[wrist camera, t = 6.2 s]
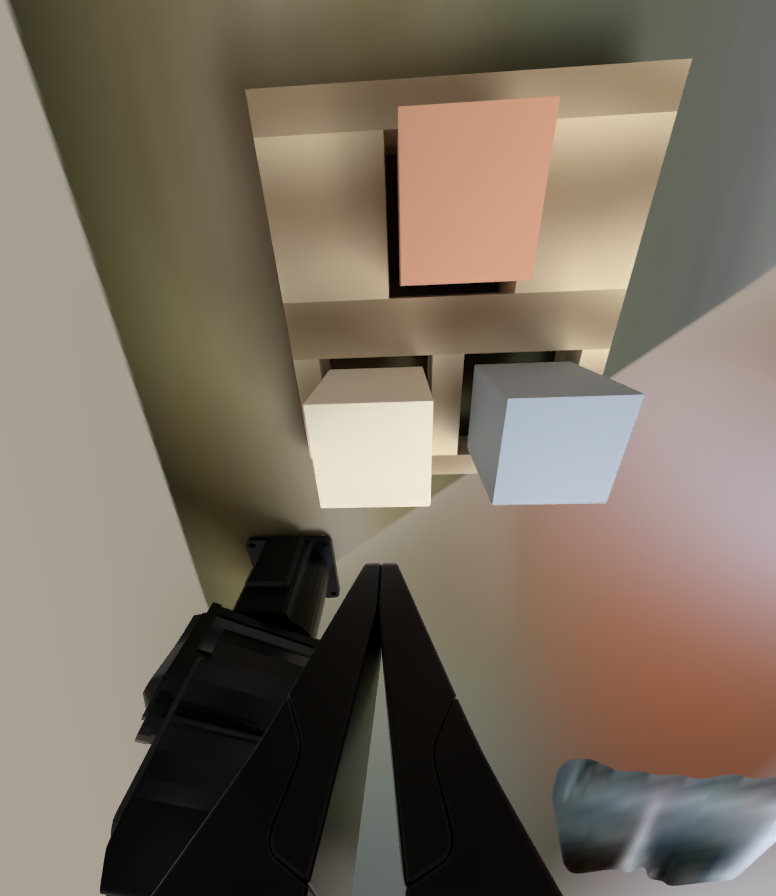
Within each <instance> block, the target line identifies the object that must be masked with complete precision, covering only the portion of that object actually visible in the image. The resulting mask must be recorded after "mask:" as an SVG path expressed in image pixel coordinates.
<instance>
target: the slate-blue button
mask: <svg viewBox="0 0 776 896" xmlns="http://www.w3.org/2000/svg"><path fill="white" fill-rule="evenodd" d="M644 396H645V394H643V393H641V392H638V391H636V390H634V389H632V388H629V387H627V386H625V385H623V384H620V383H618V382H616V381H614V380H611V379H609V378H607V377H605V376H602V375H600V374H598V373H596V372H593V371H591V370H589V369H586V368H584V367H582V366H580V365H577V364H575V363H573V362H571V361H566V362H537V363H508V364H479V365H475V366H474V377H473V388H472V399H471V410H470V421H469V433H468V444H467V448H468V451H469V453H470V455H471V458H472V460H473V462H474V464H475V467H476V469H477V471H478V474H479V476H480V478H481V480H482V482H483V485H484V487H485V490H486V492H487V494H488V496H489V499H490V501H491V503H492V505H527V504H528V505H529V504H581V503H582V504H583V503H606V502H607V500H608V497H609V494H610V491H611V488H612V486H613V483H614V480H615V477H616V474H617V472H618V469H619V466H620V463H621V461H622V458H623V455H624V452H625V449H626V447H627V444H628V441H629V438H630V435H631V433H632V430H633V427H634V424H635V421H636V419H637V416H638V413H639V410H640V408H641V405H642V402H643V399H644Z"/></svg>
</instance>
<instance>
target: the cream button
mask: <svg viewBox="0 0 776 896" xmlns="http://www.w3.org/2000/svg"><path fill="white" fill-rule="evenodd" d="M433 402H434V401H433V398H432V395H431V392H430V389H429V385H428V382H427V379H426V376H425V373H424V370H423V367H422V366H421V367H392V368H363V369H334V370H329V371H328V373H327V374H326V375H325V377H324V378H323V379H322V380H321V382H320V383H319V384H318V386H317V387H316V388H315V390H314V391H313V392H312V394H311V395H310V396H309V397H308V399H307V400H306V401H305V403H304V404H303V409H304V414H305V420H306V426H307V431H308V437H309V443H310V449H311V454H312V460H313V466H314V471H315V477H316V483H317V488H318V494H319V500H320V506H321V508H361V507H417V506H430V501H431V468H432V435H433Z"/></svg>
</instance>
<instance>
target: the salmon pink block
mask: <svg viewBox="0 0 776 896" xmlns="http://www.w3.org/2000/svg"><path fill="white" fill-rule="evenodd" d="M559 102H560V96H552V97H536V98H521V99H506V100H490V101H475V102H460V103H445V104H429V105H414V106H399V107H398V141H397V185H398V236H399V285H400V286H413V285H435V284H458V283H481V282H504V281H526V280H532V276H533V270H534V263H535V257H536V250H537V244H538V237H539V231H540V224H541V218H542V211H543V205H544V199H545V192H546V186H547V179H548V173H549V166H550V160H551V153H552V147H553V140H554V134H555V128H556V121H557V115H558V108H559Z"/></svg>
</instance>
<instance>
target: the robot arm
mask: <svg viewBox="0 0 776 896" xmlns="http://www.w3.org/2000/svg"><path fill="white" fill-rule="evenodd" d="M323 542H326V543H323ZM253 543H254V544H253ZM246 548H247V551H248V554H249V556H250V559H251V562H252V565H253V568H252V570H251V572H250V574H249V576H248V578H247V580H246V582H245V586H244V588H243V590H242V592H241V594H240V596H239V598H238V600H237V602H236V604H235V606H234V608H233V610H230V609H227V608H224V607H221V606H222V605H221V604H218V603H215V602H213V603H212V605H211V607H210V608H209V610H208V612H207V613H203V614H200V615H194V616H193V618H192V620H191V621H190V623H189V624H188V626H187V628H186V629H185V631H184V633H183V634H182V636H181V637H180V639H179V641H178V642H177V644H176V645H175V647H174V648H173V650H172V651H171V652H170V654H169V655H168V656H167V658H166V659H165V660H164V662H163V663H162V665H161V666H160V667H159V669H158V670H157V671H156V673H155V674H154V676H153V677H152V679H151V680H150V681H149V683H148V685H147V686H146V688H145V690H144V692H143V696H144V701H145V706H146V710H145V712H144V714H143V716H142V720H144V722H143V724H142V727H141V728H140V730H139V732H138V734H137V737H136V739H135V742H139V743H143V744H152V745H151V747H150V748H149V750H148V752H147V754H146V756H145V758H144V760H143V762H142V764H141V766H140V768H139V770H138V772H137V774H136V776H135V777H134V780H133V781H132V783H131V785H130V787H129V789H128V791H127V793H126V795H125V797H124V799H123V800H122V802H121V805H120V806H119V808H118V810H117V812H116V814H115V817H114V819H113V824H112V828H111V838H110V840H109V842H108V845H107V848H106V852H105V858H104V865H103V872H102V879H101V885H100V893H101V894H106V896H351V894H352V886H353V878H354V870H355V861H356V854H357V845H358V838H359V830H360V822H361V814H362V806H363V799H364V791H365V782H366V775H367V767H368V758H369V750H370V743H371V735H372V727H373V719H374V711H375V703H376V695H377V687H378V679H379V671H380V662H381V651H382V661H383V673H384V683H385V694H386V705H387V716H388V727H389V738H390V749H391V760H392V771H393V782H394V793H395V804H396V815H397V826H398V837H399V848H400V859H401V870H402V881H403V892H404V896H563V895H562V893H561V891H560V890H559V888H558V886H557V884H556V883H555V881H554V879H553V877H552V875H551V874H550V872H549V870H548V868H547V867H546V865H545V863H544V862H543V860H542V858H541V856H540V855H539V853H538V851H537V849H536V847H535V846H534V844H533V842H532V840H531V838H530V837H529V835H528V833H527V831H526V830H525V828H524V826H523V824H522V823H521V821H520V819H519V818H518V816H517V814H516V812H515V810H514V808H513V807H512V805H511V803H510V801H509V800H508V798H507V796H506V795H505V793H504V791H503V789H502V787H501V786H500V784H499V782H498V780H497V778H496V776H495V774H494V772H493V771H492V769H491V767H490V765H489V763H488V761H487V759H486V757H485V756H484V754H483V752H482V750H481V748H480V745H479V743H478V741H477V739H476V737H475V735H474V733H473V731H472V729H471V727H470V725H469V723H468V720H467V718H466V716H465V714H464V712H463V709H462V707H461V705H460V703H459V700H458V699H456V694H455V692H454V690H453V687H452V685H451V683H450V681H449V679H448V676H447V674H446V672H445V670H444V667H443V665H442V663H441V661H440V658H439V656H438V654H437V652H436V649H435V647H434V645H433V643H432V641H431V638H430V636H429V634H428V632H427V629H426V627H425V625H424V623H423V620H422V618H421V616H420V614H419V612H418V609H417V607H416V605H415V603H414V600H413V598H412V596H411V594H410V591H409V589H408V587H407V585H406V583H405V580H404V578H403V576H402V574H401V572H400V569H399V567H398V565H397V564H396V563H383V564H382V565H380V564H379V563H370V564H369V563H368V564H365V565H364V567H363V568H362V570H361V572H360V574H359V575H358V577H357V579H356V580H355V582H354V584H353V586H352V587H351V589H350V590H349V592H348V594H347V596H346V597H345V599H344V601H343V602H342V604H341V606H340V607H339V609H338V611H337V613H336V614H335V616H334V618H333V619H332V621H331V623H330V624H329V626H328V628H327V629H326V631H325V633H324V634H323V636H322V638H321V639H320V640H319V639H316V638H317V634H318V629H319V624H320V620H321V616H322V611H323V607H324V602H325V598H326V597H327V598H333V597H338V596H339V592H340V586H339V580H338V575H337V568H336V562H335V556H334V550H333V544H332V539H331V538H330V537H328V536H275V537H250V538H249V539H248V541H247V542H246Z"/></svg>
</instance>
